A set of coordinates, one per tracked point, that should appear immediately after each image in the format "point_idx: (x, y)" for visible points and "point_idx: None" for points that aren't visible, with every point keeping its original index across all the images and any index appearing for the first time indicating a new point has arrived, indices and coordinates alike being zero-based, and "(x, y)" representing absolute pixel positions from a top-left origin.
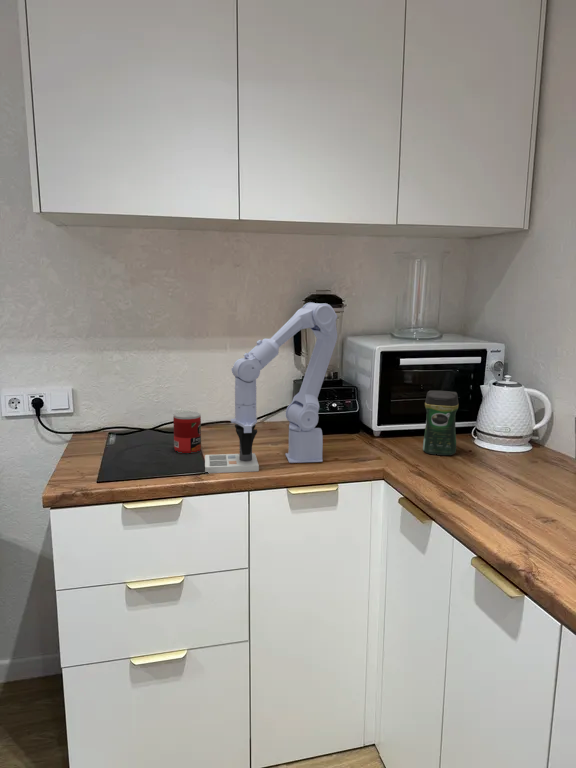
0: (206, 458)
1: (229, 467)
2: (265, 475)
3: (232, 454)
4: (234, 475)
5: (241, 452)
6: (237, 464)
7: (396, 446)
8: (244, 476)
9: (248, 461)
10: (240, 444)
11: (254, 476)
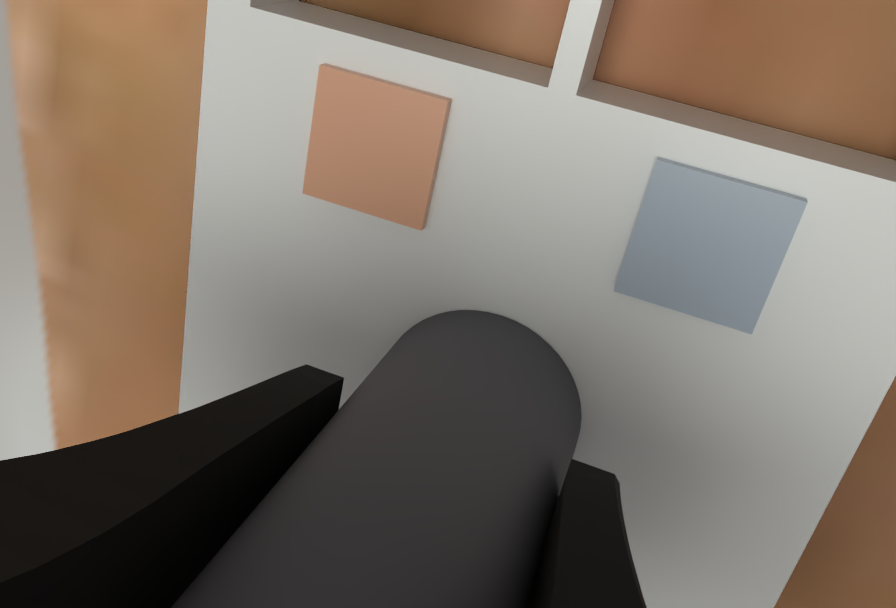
0: None
1: (217, 29)
2: (83, 399)
3: (884, 323)
4: (129, 54)
5: (376, 385)
6: (272, 191)
7: None
8: (78, 168)
9: None
10: (334, 465)
11: (65, 279)
